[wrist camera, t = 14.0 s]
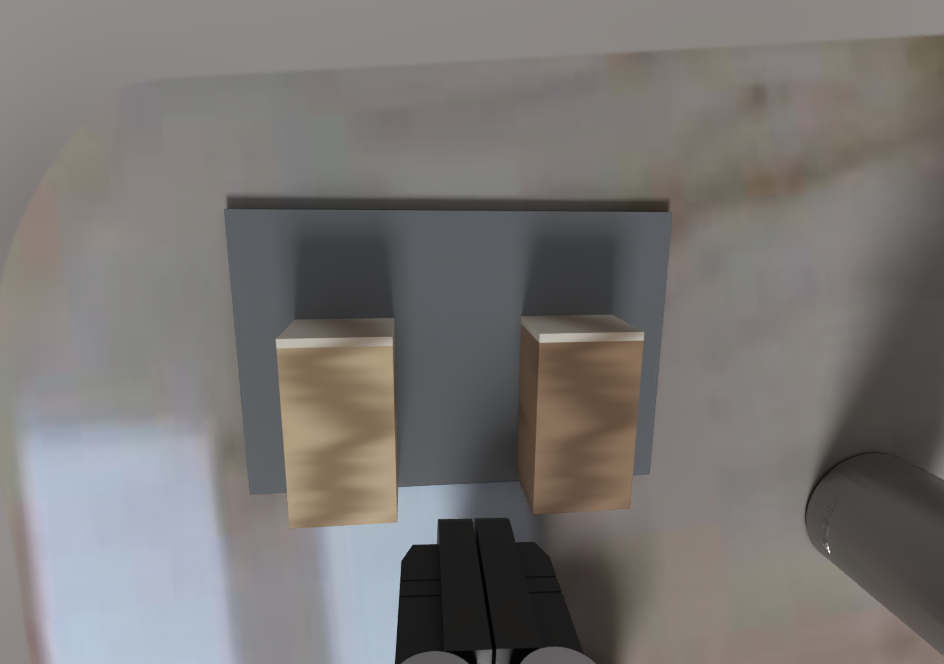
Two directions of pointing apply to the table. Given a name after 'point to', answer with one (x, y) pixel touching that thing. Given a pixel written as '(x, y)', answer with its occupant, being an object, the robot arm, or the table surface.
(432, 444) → the mat
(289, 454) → the oak block
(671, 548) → the table surface
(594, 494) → the walnut block
